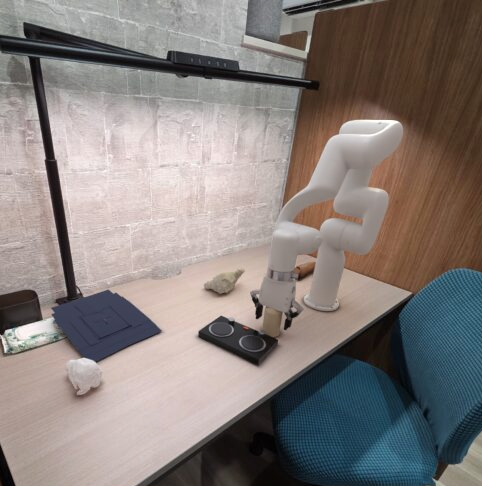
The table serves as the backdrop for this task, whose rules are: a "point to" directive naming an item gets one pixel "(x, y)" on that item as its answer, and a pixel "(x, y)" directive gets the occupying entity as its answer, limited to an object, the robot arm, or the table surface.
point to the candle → (272, 321)
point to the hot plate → (239, 339)
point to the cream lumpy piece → (224, 281)
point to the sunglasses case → (304, 269)
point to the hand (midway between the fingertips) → (272, 322)
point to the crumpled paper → (84, 374)
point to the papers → (102, 324)
